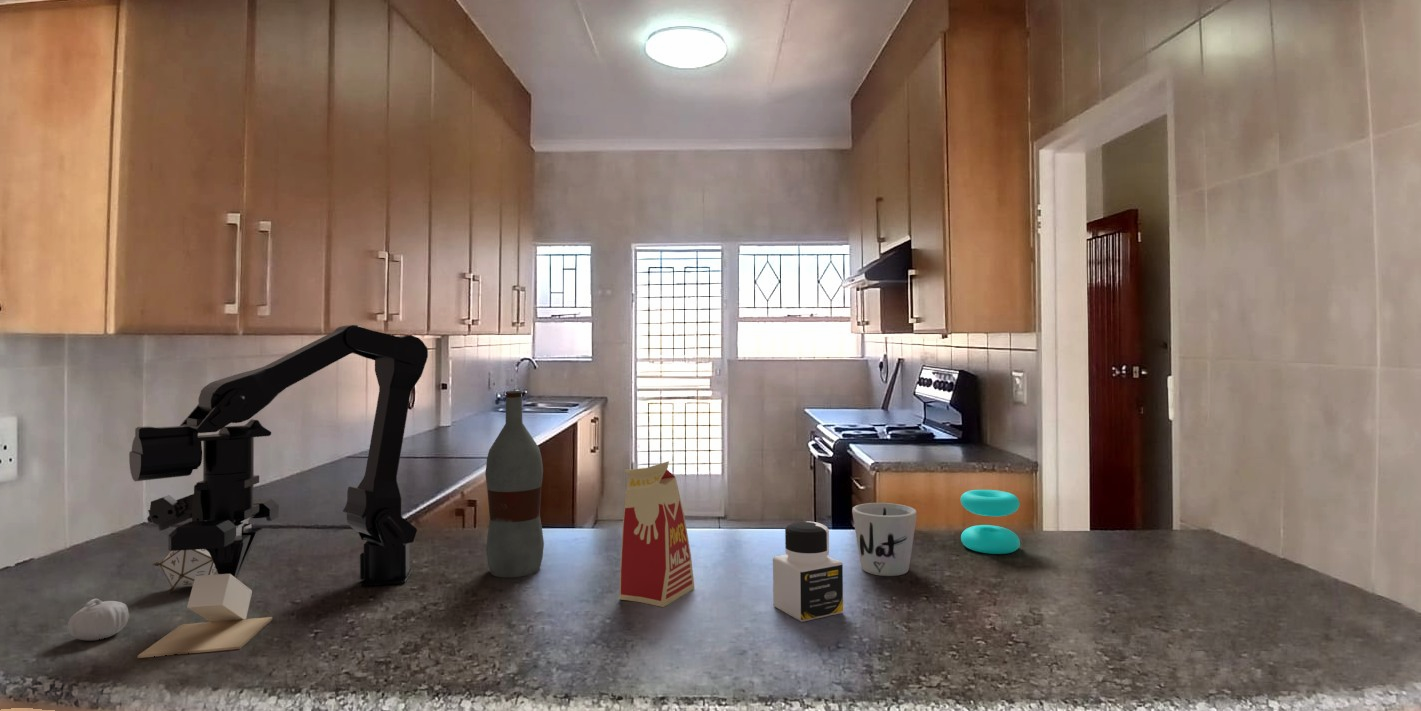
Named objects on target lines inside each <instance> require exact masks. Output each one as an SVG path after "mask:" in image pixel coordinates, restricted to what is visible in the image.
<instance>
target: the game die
mask: <svg viewBox="0 0 1421 711" xmlns="http://www.w3.org/2000/svg"><path fill="white" fill-rule="evenodd" d="M152 565H153V566H155V567H159V566H160V568H161V570H162V571H163V574H164V576H165V578H166V579H167V581H168V583H169V585H170V586H171V587H170V588H169V590H168V594H171V593H173V591H174V590H175V589H181V588H191V587H193V584H194V580H195V576H202V575H216V574H217V573H216V572H217V570H216V567H215V564H214V562H213V560H212V557H211V555H210V553H209V552H208V551H207V550H205V549H197V550H179V551H170V550H169V552H168V553H167V554H166V556H165V557H164V558H163V559H162V561H161V562H157V561H156V562H155V563H153V564H152Z"/></svg>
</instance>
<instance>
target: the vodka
mask: <svg viewBox="0 0 1421 711" xmlns="http://www.w3.org/2000/svg"><path fill="white" fill-rule="evenodd" d="M504 394H505V424H504V425H503V427H502V429H501V430H500V432H499V434H498V435H497V437H496V439H495V440H494V442H493V443H492V444H491V447H490V448H489V450H488V452H487V457H486V462H485V465H486V466H485V475H484V476H485V482H486V487H487V488H486V490H487V500H488V501H487V502H488V512H489V521H488V522H489V523H488V529H487V534H486V535H487V536H486V537H487V538H486V545H485V546H486V547H485V550H486V551H485V552H486V559H487V566H488V568H489V572H490V574H491V575H492V576H494V577H498V578H508V579H509V578H520V577H527V576H530V575H533V574H535V573H537V572H538V571H540V569H541V565H542V562H543V556H544V546H545V542H544V535H543V526H542V521H541V501H542V500H541V498H542V484H543V474H544V467H543V459H542V453H541V450H540V447H539V445H538V444H537V442H536V441H535V439H534V438H533V437H532V435H531V433H530V432H529V431H528V428H526V426H525V424H524V423H523V398H522V397H523V395H522V394H523V391H522V390H507V391H505V392H504Z"/></svg>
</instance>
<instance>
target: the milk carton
mask: <svg viewBox="0 0 1421 711" xmlns="http://www.w3.org/2000/svg"><path fill="white" fill-rule="evenodd" d="M669 463H670V461H666V462H662V463H661V462H660V463H658V464H655V465H652V466H649V467H641V468H640V467H639V468H633V469H632V468H631V469H624V470H623V471H624V472H625V473H627V474H628V476H627V481H626V482H627V484H626V488H625V498H624V499H625V500H624V509H623V510H624V511H623V519H622V520H623V521H622V530H621V531H622V532H621V533H622V534H621V550H620V562H619V563H620V566H619V596H618V598H619V600H623V601H631V602H637V603H638V602H639V603H643V604H647V605H652V606H657V607H661V608H664V607H666V606H668V605H669V604H672V603H673V602H674V601H676V600H678V599H680V598H681V597H683V596H684V595H686V594H688V593H689V592H691V591H692V590H694V589H695V581H694V580H695V579H694V570H693V563H692V562H693V561H692V553H691V548H690V541H689V536H688V529H687V523H686V517H685V512H684V508H683V504H682V501H681V500H682V499H681V495H680V491H679V487H678V483H677V478H676V476H675V475H674V474H673V473H672V472H671V471H670V470H668V468H669V467H668V466H669Z"/></svg>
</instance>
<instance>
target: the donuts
mask: <svg viewBox="0 0 1421 711" xmlns="http://www.w3.org/2000/svg"><path fill="white" fill-rule="evenodd" d="M1020 502H1021V501H1020V500H1019V498H1018V497H1017V496H1016V495H1015V494H1013V493H1011V492H1007V491H1005V490H1004V491H1002V490H996V489H970V490H968V491H965V492H963V493H962V494H961V496H960V504H961V506H962V507H963V508H964V509H965V510H966V511H968V512H970V513H972V514H974V515H979V516H984V517H1004V516H1009V515H1013V514H1014V513H1015V512H1017V511H1018V509H1019V508H1020V506H1021V505H1020V504H1021V503H1020ZM960 540H961V543H962V545H963V546H965V548H967V549H969V550H972V551H974V552H977V553H983V554H990V555H991V554H992V555H1005V554H1011V553H1014V552H1016V551H1017V550H1019V548H1020V545H1021V541H1020V537H1019V536H1018V534H1016V533H1015V532H1014V531H1012V530H1011V529H1008V528H1006V527H1002V526H998V525H991V524H980V525H979V524H978V525H972V526H970V527H967V528H965V529H964V530H963V531H962V533H961V535H960Z"/></svg>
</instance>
